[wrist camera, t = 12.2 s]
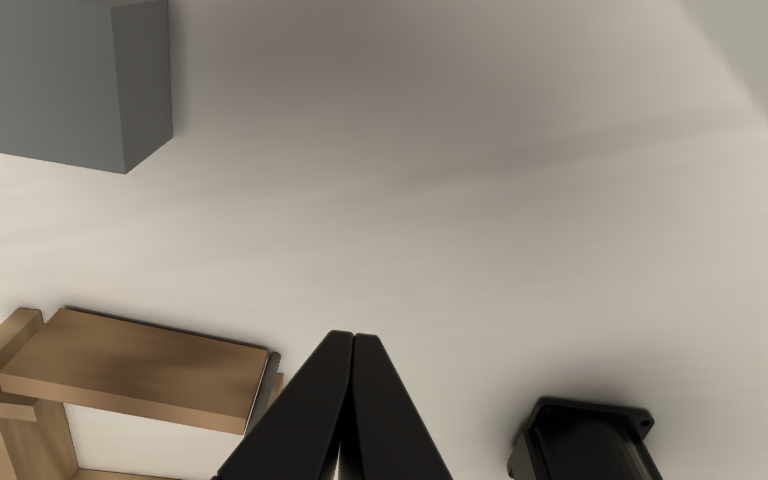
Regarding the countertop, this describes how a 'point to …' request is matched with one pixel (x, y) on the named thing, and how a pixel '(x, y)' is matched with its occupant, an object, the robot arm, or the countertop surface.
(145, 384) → the gate
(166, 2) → the block
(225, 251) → the countertop surface
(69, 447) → the corral
